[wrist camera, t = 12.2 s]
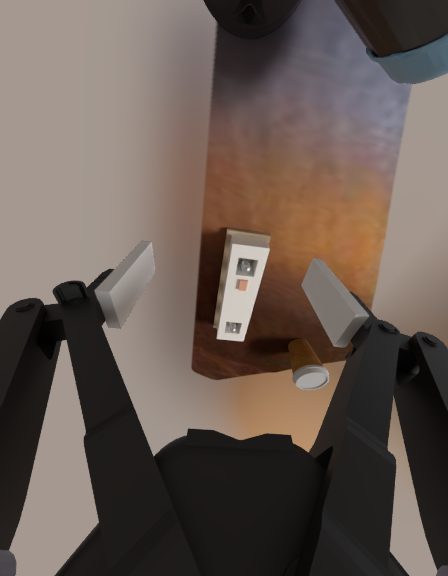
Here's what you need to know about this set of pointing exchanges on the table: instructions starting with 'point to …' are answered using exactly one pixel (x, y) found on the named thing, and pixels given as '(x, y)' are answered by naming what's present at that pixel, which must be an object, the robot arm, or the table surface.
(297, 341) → the disposable coffee cup
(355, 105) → the table surface
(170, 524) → the robot arm
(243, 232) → the hanger board
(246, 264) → the chrome knobs
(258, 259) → the power strip
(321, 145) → the table surface
